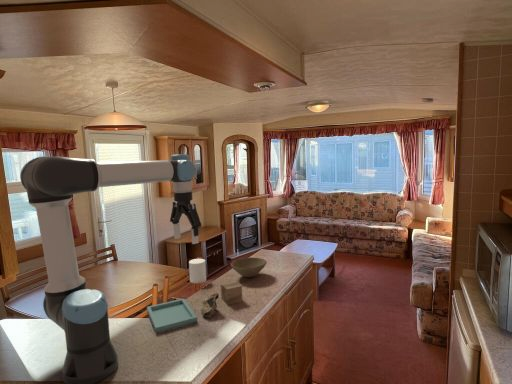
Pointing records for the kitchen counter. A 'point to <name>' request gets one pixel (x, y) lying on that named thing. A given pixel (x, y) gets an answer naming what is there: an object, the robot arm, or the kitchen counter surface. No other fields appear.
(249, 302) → the kitchen counter surface
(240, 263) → the bowl
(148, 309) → the tray
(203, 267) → the mug
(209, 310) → the rock
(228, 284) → the walnut cube
